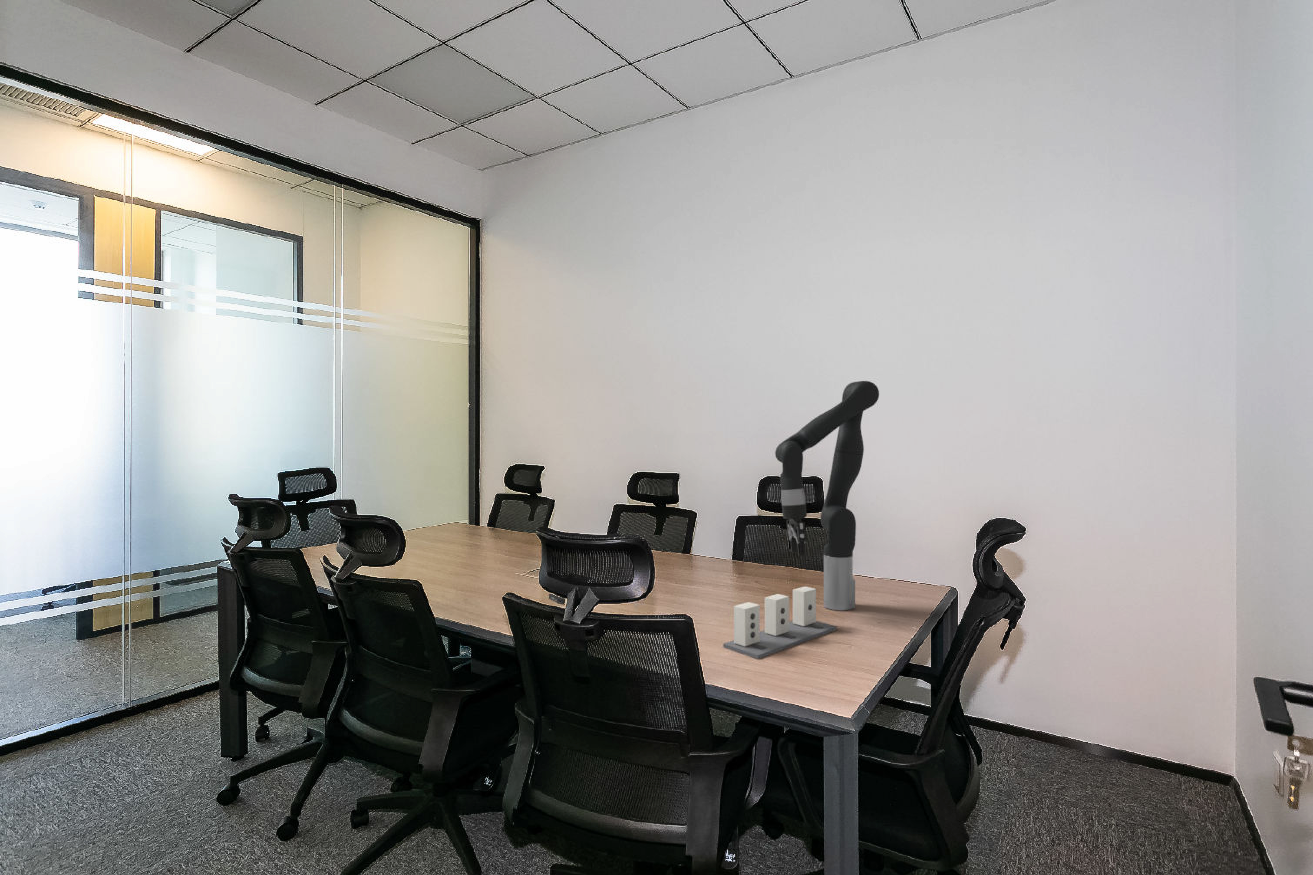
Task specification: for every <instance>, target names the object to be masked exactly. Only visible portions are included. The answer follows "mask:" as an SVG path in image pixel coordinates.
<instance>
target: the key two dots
mask: <svg viewBox="0 0 1313 875" xmlns="http://www.w3.org/2000/svg"><path fill="white" fill-rule="evenodd" d="M789 622H790V596H788V595H785V594H781V593H776V594H772V595H769V596H766V597H764V630H765V633H768V634H771V635H775V636H777V635H780V634H783V633H786V632H789Z"/></svg>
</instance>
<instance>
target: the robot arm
mask: <svg viewBox="0 0 1313 875" xmlns="http://www.w3.org/2000/svg"><path fill="white" fill-rule="evenodd" d="M879 397H880V390H879V388H878V386H877V385H876V384H875V383H874V382H872V381H867V380H861V381H860V380H859V381H853V382H850V383H849V384H847V385H846V386H845V387H844V389H843V392H842V398H841V401H840V402H839V403H838V404H836V405H835V406H833V407H832V408H830V409H828V410H827V411H825V412H823V413H821V414H819V415H818V416H816V417H815V418H813V419H812V420H810V421H809V422H808V423H807V424H805V425H804V426H803V427H802V428H800V429H799V431H797V432H796V433H794V434H792V435H791V436H790V437H788V438H786V439H785V440H783V441H781V443H779V444H778V445H777V447H776V449H775V452H774V455H775V458H776V460H777V461H778V462H780V463H781V465H782V471H781V474H780V477H779V478H780V480H779V481H780V491H781V493H780V494H781V495H780V497H781V498H780V499H781V500H780V501H781V510H782V511H781V512H782V518H783V519H785V520H786V522H785V523H786V529H787V530H786V532H787V538H788V540H789V541H790V552H791V553H797V554H798V556H799V557H800V556H806V555H807V553H806V542H807V541H808V539H807V530H806V523H805V522H802V519H805V518H807V514H808V513H807V504H806V496H805V491H804V484H803V482H804V481H803V475H802V473H803V462H804V452H805V451H807V450H808V449H811V448H813V447H815V446H816V445H817V444H819V443H820V442H822V441H823V440H824V439H825V438H826V437H828V436H829V435H830V434H831V433H833V432H834V431H835V430H837V429H838V432H837V436H836V437H837V438H836V443H835V447H834V453H833V458H832V465H831V470H830V477H829V481H828V487H827V488H828V489H827V492H826V496H825V499H824V502H823V507H822V509H821V513H820V524H821V526H822V528H823V529H824V530H825V531H827V532H828V536H827V538H828V540H827V543H826V544H825V545H824V547H823V608H826V609H829V610H833V611H834V610H835V611H849V610H852V609H856V579H855V578H854V577H853V569H854V565H853V564H854V560H853V553H854V549H855V546H856V534H857V532H856V531H857V521H856V517H855V514H854V513H853V512H852V510H850V509H848V508H847V503H848V498H849V494H850V491H851V489H852V487H853V485H854V483H855V481H856V480H857V478H858V476H859V474H860V472H861V468H862V462H863V459H864V453H865V452H864V451H865V449H864V448H865V446H864V441H863V435H862V418H863V414H864V411H866V410H868V409H870V408H872V407H873V406H874V405H875V404H876V403H878V400H879Z"/></svg>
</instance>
